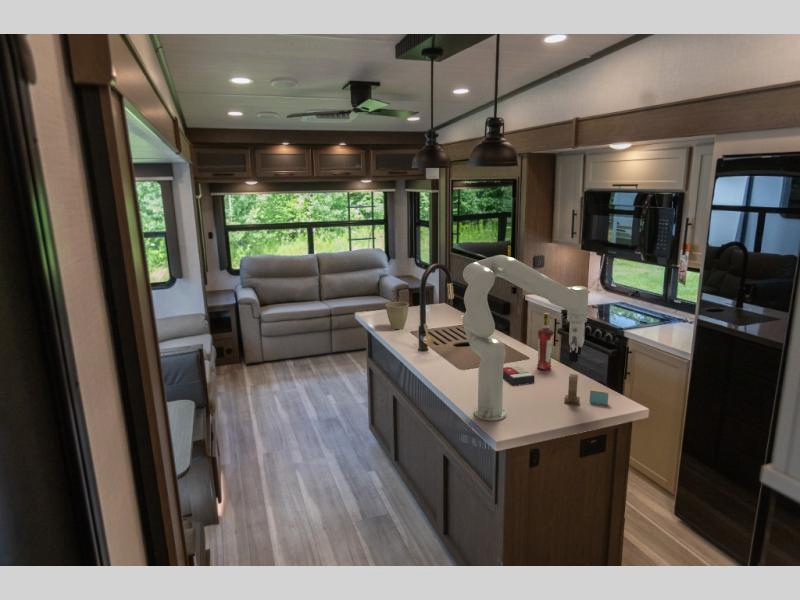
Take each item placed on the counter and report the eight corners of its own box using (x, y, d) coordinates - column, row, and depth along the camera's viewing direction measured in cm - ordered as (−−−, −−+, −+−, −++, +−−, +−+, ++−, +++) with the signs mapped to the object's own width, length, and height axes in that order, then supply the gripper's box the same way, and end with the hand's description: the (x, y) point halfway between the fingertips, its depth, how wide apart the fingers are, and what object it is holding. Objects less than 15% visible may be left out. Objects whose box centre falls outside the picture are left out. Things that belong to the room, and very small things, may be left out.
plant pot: (408, 324, 331) (408, 301, 327) (409, 331, 316) (409, 306, 313) (386, 325, 330) (385, 301, 327) (386, 331, 316) (385, 307, 312)
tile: (607, 405, 206) (608, 393, 204) (589, 402, 209) (590, 390, 207) (607, 403, 207) (608, 391, 206) (589, 401, 210) (590, 388, 209)
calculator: (519, 364, 244) (535, 374, 230) (519, 373, 245) (534, 383, 231) (498, 367, 242) (513, 376, 227) (498, 375, 242) (512, 386, 228)
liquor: (539, 364, 253) (541, 310, 247) (553, 367, 249) (556, 312, 243) (534, 369, 247) (536, 314, 241) (548, 372, 243) (551, 316, 237)
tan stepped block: (578, 405, 206) (580, 377, 204) (564, 403, 209) (565, 375, 206) (579, 402, 209) (581, 375, 206) (565, 400, 211) (567, 373, 209)
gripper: (584, 323, 192) (582, 365, 195) (589, 312, 207) (587, 352, 210) (564, 321, 195) (562, 363, 199) (570, 311, 210) (568, 350, 214)
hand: (575, 357), depth 205 cm, fingers open, 9 cm apart
